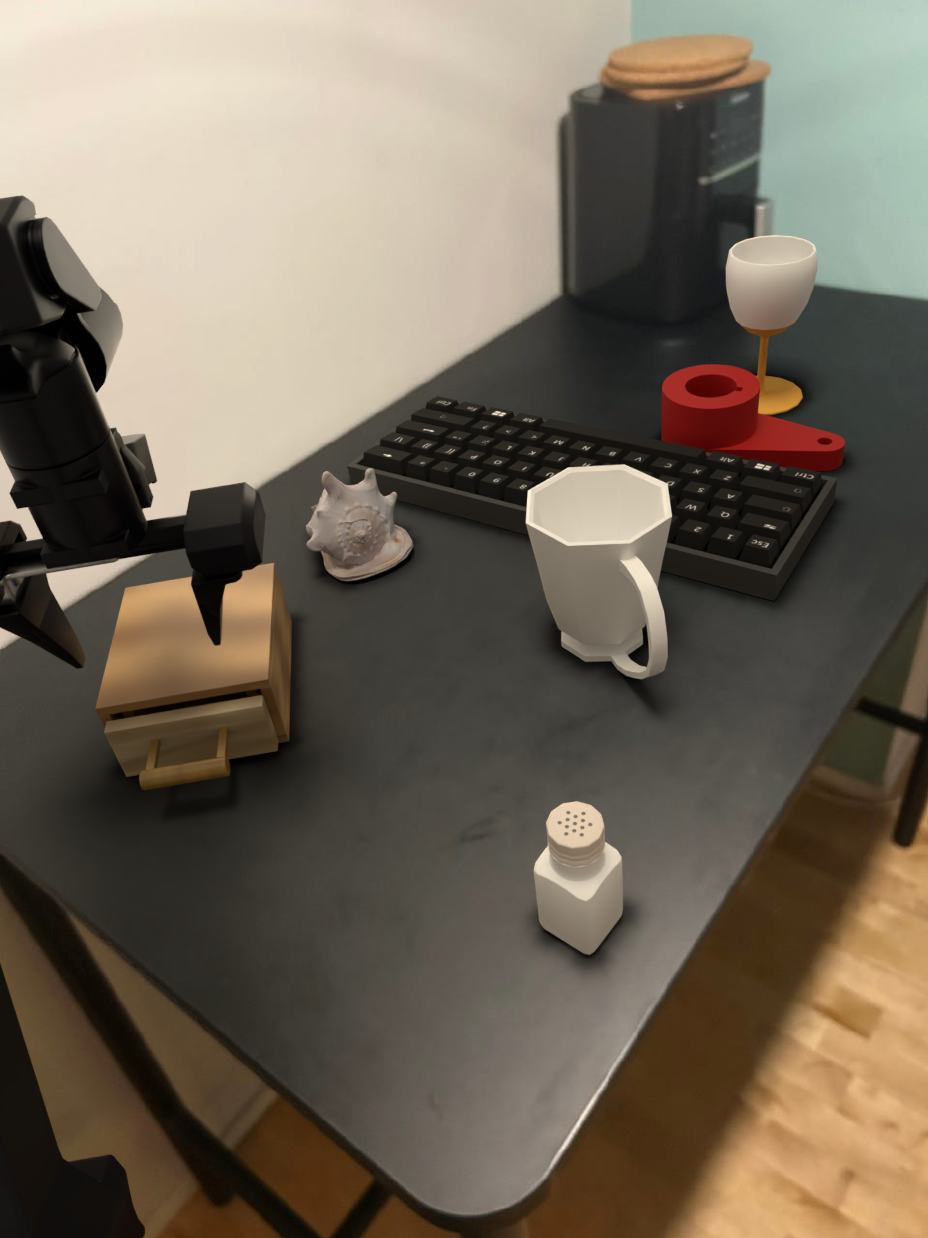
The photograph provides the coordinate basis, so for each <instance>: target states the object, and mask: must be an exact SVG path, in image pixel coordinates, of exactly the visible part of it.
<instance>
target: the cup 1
mask: <svg viewBox="0 0 928 1238" xmlns="http://www.w3.org/2000/svg"><path fill="white" fill-rule="evenodd" d="M671 519H672V513H671V506H670V498H669V491H668V484H667V483H665V482H663V481H660V480H658V479H656V478H654V477H651V476H649V475H647V474H645V473H642V472H640V471H638V470H636V469H633V468H631V467H629V466H627V465H605V466H587V467H568V468H567V469H565V470H563V471H561V472H560V473H558V474H556V475H554V476H553V477H551V478H549V479H547V480H546V481H544V482H542V483H540V484H539V485H537V486H535V487H533V488H532V489H530V490H528V497H527V511H526V526H527V530H528V534H529V535H528V537H529V540H530V545H531V548H532V551H533V555H534V559H535V562H536V566H537V570H538V574H539V578H540V581H541V585H542V589H543V594H544V597H545V600H546V603H547V605H548V608H549V610H550V612H551V614H552V618H553V620H554V621H555V625H556V627H557V629H558V630H559V631H561V632H560V637H561V638H560V644H561V647H562V648H563V649H565V650H566V651H568V652H570V653H571V654H573V655H574V656H576V657H577V658H579V659H580V660H582V661H583V662H585V663H592V662H595V663H596V662H611V663H612V664H613V666H614V667H615V668H616V670H617V671H619V672H620V673H621V674H622V675H624V676H625V677H629V678H632V679H636V680H637V679H638V680H644V679H648V678H651V677H654V676H658V675H659V674H661V673H663V672H665V670H666V665H667V663H668V660H669V659H668V658H669V651H668V647H669V646H668V645H669V644H668V632H667V623H666V615H665V611H664V606H663V603H662V600H661V597H660V593H659V589H658V586H659V581H660V575H661V572H662V571H661V566H662V561H663V556H664V552H665V547H666V543H667V539H668V534H669V529H670V524H671ZM645 627H646V632H647V641H648V662H647V664H646V666H643V665H639V664H638V663H637V662H635V661H633V660H632V659H631V657H630V656H629V655H630V654H631V653H633V652H634V651H636V650H637V649H638V648H640V647H641V646H642V645H644V635H643V629H644V628H645Z"/></svg>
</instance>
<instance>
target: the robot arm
mask: <svg viewBox="0 0 928 1238" xmlns="http://www.w3.org/2000/svg"><path fill="white" fill-rule="evenodd" d="M36 211H37V210H36V205H35V203H34V202H33V201H32V200H30V199H29V198H28V197H26V196H25V195H13V196H8V197H0V454H1V456H2V458H3V460H4V461H5V464H6V466H7V468H8V470H9V473H10V475H11V477H13V480H14V482H13V484H12V486H11V489H10V490H9V493H8V494H9V495H10V498H11V500H12V502H13V504H14V506H15V508H16V510H20V509H24V508H25V509H26V508H27V509H28V511H29V513H30V515H31V517H32V520H33V521H34V523H35V525H36V527H37V529H38V531H39V534H40V536H41V538H36V539H30V540H28V536H27V534H26V533H25V531H24V528H23V526H22V525H21V523H18V522H15V521H14V520H11V519H10V520H5V521H0V629H2V630H4V631H6V632H8V633H11V634H13V635H15V636H17V637H19V638H21V639H24V640H26V641H27V642H29V643H32V644H33V645H35V646H37V647H39V648H41V649H42V650H43V651H45V652H47V653H48V654H50V655H52V656H54V657H56V658H58V659H59V660H61V661H62V662H64V663H66V664H68V665H70V666H71V667H73V668H75V669H77V670H78V669H79V670H80V669H83V668H84V667H85V664H86V654H85V652H84V649H83V647H82V644H81V641H80V640H79V637H78V635H77V633H76V632H75V630H74V628H73V627H72V625H71V623H70V621H69V620H68V617H67V615H66V613H65V612H64V610H63V608H62V606H61V604H60V603H59V601H58V600H57V598H56V596H55V594H54V592H53V591H52V589H51V587H50V584H49V580H48V575H47V574H51V573H58V572H64V571H70V570H76V569H81V568H82V569H83V568H88V567H94V566H101V565H107V564H113V563H116V562H118V561H119V560H124V559H129V558H136V557H142V556H148V555H153V554H154V555H155V554H159V553H166V552H173V551H177V550H178V551H179V550H185V555H186V557H187V560H188V562H189V565H190V568H191V569H192V574H191V577H192V580H191V586H192V589H193V592H194V595H195V598H196V601H197V604H198V607H199V610H200V613H201V616H202V619H203V622H204V625H205V628H206V631H207V633H208V636H209V637H210V639H211V641H212V642H213V644H214V645H215V646H218V645H221V639H222V616H223V595H224V590H225V586H226V585H227V584H230V583H235V582H237V581H239V580H240V579H241V578H242V575H243V571H246V570H252V569H254V568H255V567H256V566H258V565H261V564H262V563H263V557H264V544H265V543H264V542H265V531H266V529H265V528H266V517H267V516H266V512H265V508H264V504H263V501H262V498H261V495H260V493H259V491H258V490H257V489H255V488H254V487H253V486H252V485H250V484H248V483H247V482H246V481H243V482H236V483H230V484H224V485H218V486H211V487H206V488H200V489H199V488H198V489H195V490H194V489H193V490H190V492H189V496H188V501H187V507H186V512H185V513H183V514H178V515H172V516H165V517H160V518H153V519H147V518H146V515H145V513H144V509H149V508H152V505H153V500H154V494H153V492H152V490H151V487H150V485H151V484H152V485H153V484H156V483H157V482H158V478H157V474H156V470H155V466H154V463H153V459H152V455H151V451H150V448H149V447H150V446H149V444H148V440H147V435H146V433H135V434H128V435H121V433H120V432H118V429H117V427H110V425H109V423H108V420H107V418H106V415H105V412H104V410H103V408H102V405H101V403H100V399H99V397H98V395H97V393H99V391H100V389H101V388H102V387H103V386H104V385H105V383H106V380H107V377H108V374H109V372H110V369H111V367H112V364H113V362H114V359H115V356H116V354H117V351H118V348H119V345H120V342H121V340H122V338H123V332H124V331H123V330H124V322H123V317H122V313H121V310H120V308H119V305H118V304H117V303H116V302H115V301H114V300H113V299H112V297H111V296H110V295H109V294H108V293H107V292H106V291H105V290H104V289H103V288H102V287H101V286H99V284H98V283H97V282H96V280H95V279H94V277H93V276H92V274H91V273H90V272H89V270H88V268H87V267H86V266H85V264H84V263H83V261H82V260H81V258H80V257H79V256H78V254H77V252H76V251H75V250H74V248H73V247H72V246H71V244H70V243H69V241H68V240H67V239H66V237H65V235H64V234H63V232H62V231H61V230H60V228H59V227H58V225H57V224H56V223H55V222H54V221H53V219H52V218H50V217H47V216H44V217H37V218H36V215H37V212H36ZM60 1150H61V1149H60V1148H59V1145H58V1141H57V1138H56V1135H55V1132H54V1129H53V1125H52V1123H51V1119H50V1116H49V1113H48V1110H47V1107H46V1104H45V1099H44V1097H43V1094H42V1091H41V1088H40V1084H39V1082H38V1078H37V1075H36V1072H35V1069H34V1065H33V1063H32V1059H31V1056H30V1052H29V1049H28V1046H27V1043H26V1040H25V1037H24V1034H23V1030H22V1027H21V1024H20V1022H19V1018H18V1014H17V1010H16V1009H15V1005H14V1002H13V1000H12V995H11V991H10V989H9V986H8V983H7V980H6V976H5V973H4V970H3V967H2V964H1V962H0V1238H144V1237H145V1236H146V1227H145V1225H144V1224H143V1223H142V1221H141V1219H139V1216H138V1214H137V1211H136V1209H135V1206H134V1203H133V1199H132V1194H131V1190H130V1184H129V1179H128V1175H127V1174H128V1173H127V1171H126V1169H125V1168H124V1165H122V1164H121V1163H120V1162H119V1161H118V1159H117V1158H116V1157H115V1156H114V1155H113V1154H105V1155H99V1156H93V1157H87V1158H81V1159H75V1160H70V1161H68V1160H67V1159H65V1158H64V1157H63V1155H62V1153H61V1151H60Z"/></svg>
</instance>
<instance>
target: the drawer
mask: <svg viewBox="0 0 928 1238" xmlns="http://www.w3.org/2000/svg"><path fill="white" fill-rule="evenodd" d="M122 714H123V716H124V719H118V720H112V721H107V722H106V726H105V727H104V731H103V734H104V736H105V738H106V740H107V742H108V744H109V746H110V748H111V749H112V751H113V753H114V755H115V758H116V759H117V761H118V764H119V765H120V767H121V769H122V771H123V773H124V775H125V777H126V778H129V777H134V776H138V780H139V786H140V788H141V790H142V791H150V790H157V789H162V788H167V787H173V786H179V785H184V784H191V783H197V782H202V781H207V780H215V779H218V778H219V779H220V778H225V777H229V776H230V775H231V762H230V760H233V759H234V760H235V759H240V758H244V757H250V756H257V755H262V754H267V753H273V752H278V751H279V743H278V737H277V735H276V732H275V729H274V726H273V723H272V720H271V717H270V715H269V712H268V709H267V706H266V703H265V700H264V697H263V695H262V693H261V690H260V689H256V690H250V691H244V692H238V693H232V694H226V695H220V696H215V697H209V698H203V699H197V700H191V701H185V702H179V703H174V704H168V705H162V706H156V707H150V708H144V709H138V710H132V711H127V712H122Z"/></svg>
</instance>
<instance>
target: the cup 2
mask: <svg viewBox="0 0 928 1238" xmlns="http://www.w3.org/2000/svg"><path fill="white" fill-rule="evenodd" d="M817 273H818V251H817V248H816V245H815V244H814V243H813V242H811V241H809V240H808V239H805V238H801V237H797V236H795V235H781V234H780V235H779V234H774V235H773V234H772V235H759V236H755V237H750V238H745V239H743V240H741V241H738V242H736V243H735V244H733V246H732V247H730V248H729V250H728V254H727V259H726V264H725V288H726V294H727V301H728V304H729V309H730V311H731V313H732V315H733V318H734V320H735V322H736V323H738V325H740V326H741V327H742V328H743V329H744V330H745V331H746V332H748V333H749V334H751V335H754V336H758V337H759V338H760V340H759V341H760V343H759V352H758V361H757V362H758V363H757V374H756V375H755V376H756V377H757V378H758V380H759V382H760V395H759V407H758V413H760V414H764V415H767V416H774V415H780V414H785V413H787V412H789V411H791V410H793V409H794V408H796V407H798V406H799V405H800V403H801V402H802V400H803V399H804V397H803V392H802V389H801V388H800V387H799V386H798V385H796V384H795V383H794V381H793V382H792V381H790V380H788V379H784V378H781V377H776V376H772V375H771V376H770V375H766V371H767V361H768V360H767V359H768V351H769V350H768V349H769V339H770V337H771V336H775V335H776V336H777V335H779V334H781V333H783V332H785V331H786V330H787V329H789V328H790V327H791V326H792V325H795V323H796V322H797V321H798V319H799V318H800V316H801V315H802V313H803V312H804V310H805V308H806V307H807V305H808V303H809V300H810V298H811V295H812V292H813V290H814V288H815V283H816V277H817Z"/></svg>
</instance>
